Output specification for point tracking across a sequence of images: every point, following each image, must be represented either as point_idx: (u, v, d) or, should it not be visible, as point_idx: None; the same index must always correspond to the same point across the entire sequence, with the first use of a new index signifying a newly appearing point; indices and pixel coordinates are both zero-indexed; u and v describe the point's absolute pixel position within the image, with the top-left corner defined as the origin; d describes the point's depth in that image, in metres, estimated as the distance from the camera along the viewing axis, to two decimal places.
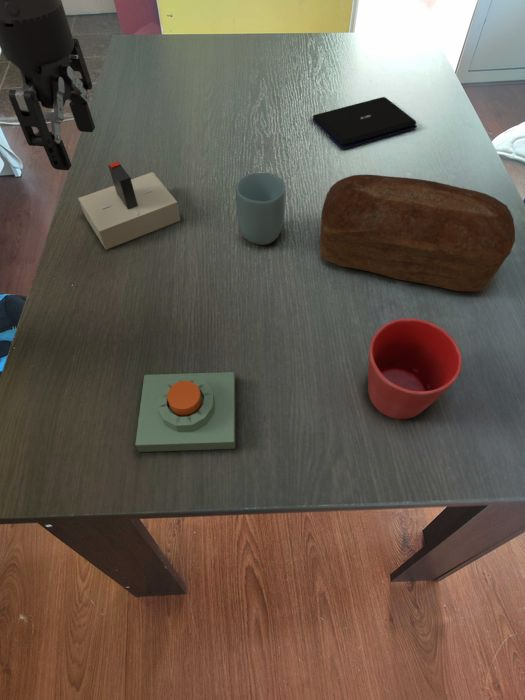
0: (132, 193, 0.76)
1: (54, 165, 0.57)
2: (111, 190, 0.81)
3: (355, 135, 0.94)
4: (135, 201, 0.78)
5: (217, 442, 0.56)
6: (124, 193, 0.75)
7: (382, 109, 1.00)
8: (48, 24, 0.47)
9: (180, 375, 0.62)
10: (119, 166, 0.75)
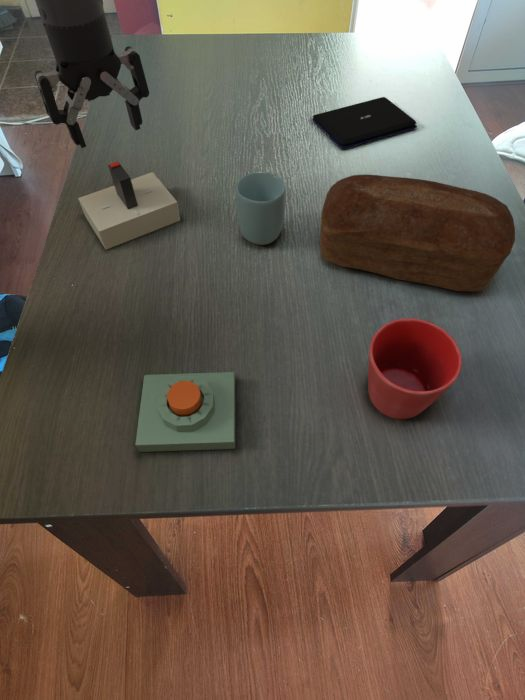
0: (132, 193, 0.76)
1: (72, 139, 0.67)
2: (111, 190, 0.81)
3: (355, 135, 0.94)
4: (135, 201, 0.78)
5: (217, 442, 0.56)
6: (124, 193, 0.75)
7: (382, 109, 1.00)
8: (67, 34, 0.55)
9: (180, 375, 0.62)
10: (119, 166, 0.75)
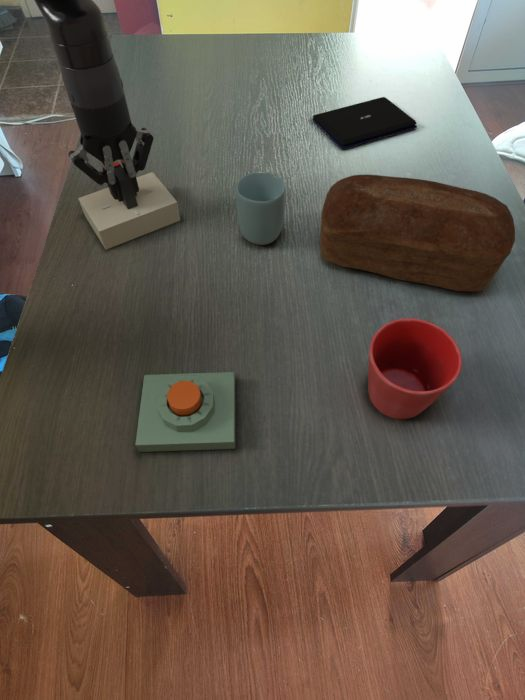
0: (132, 193, 0.76)
1: (111, 194, 0.77)
2: None
3: (355, 135, 0.94)
4: (135, 201, 0.78)
5: (217, 442, 0.56)
6: (124, 193, 0.75)
7: (382, 109, 1.00)
8: (92, 114, 0.63)
9: (180, 375, 0.62)
10: (119, 166, 0.75)
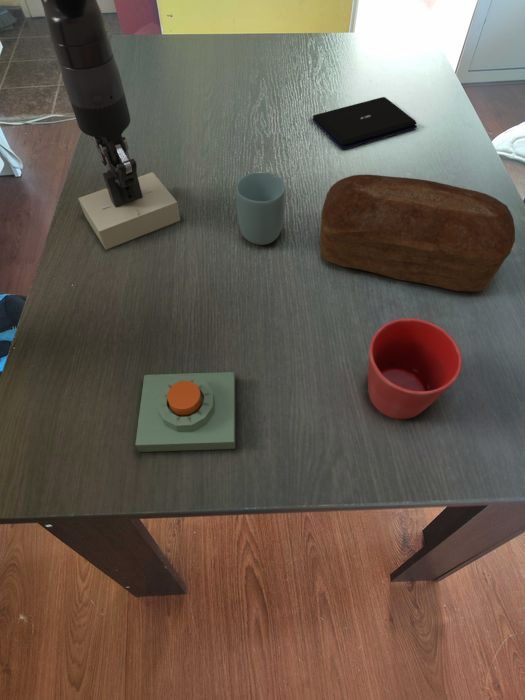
0: (110, 193, 0.76)
1: None
2: None
3: (355, 135, 0.94)
4: (113, 202, 0.77)
5: (217, 442, 0.56)
6: None
7: (382, 109, 1.00)
8: None
9: (180, 375, 0.62)
10: None
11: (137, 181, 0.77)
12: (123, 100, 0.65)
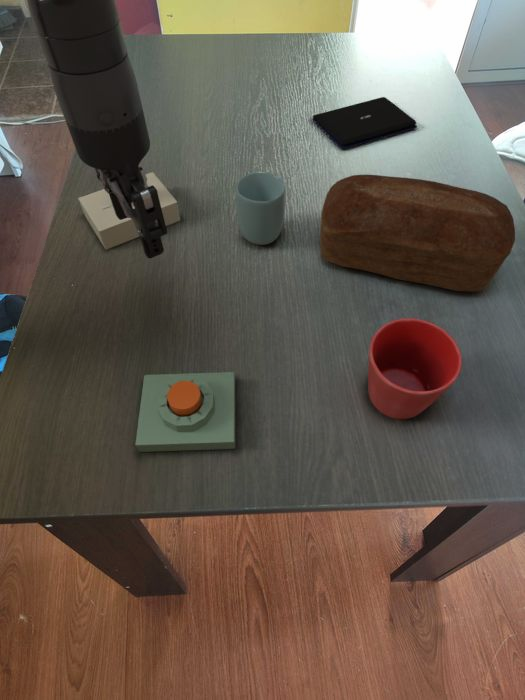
0: (110, 193, 0.76)
1: None
2: None
3: (355, 135, 0.94)
4: None
5: (217, 442, 0.56)
6: None
7: (382, 109, 1.00)
8: None
9: (180, 375, 0.62)
10: None
11: None
12: (141, 117, 0.46)
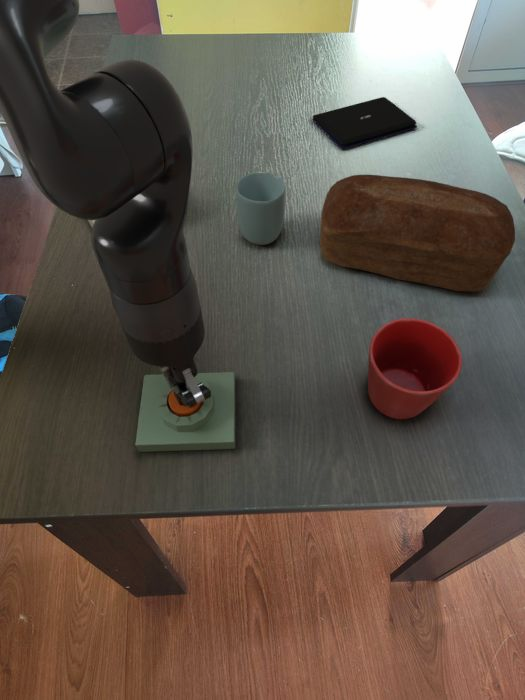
0: None
1: None
2: None
3: (355, 135, 0.94)
4: None
5: (217, 442, 0.56)
6: None
7: (382, 109, 1.00)
8: None
9: None
10: None
11: None
12: (199, 318, 0.43)
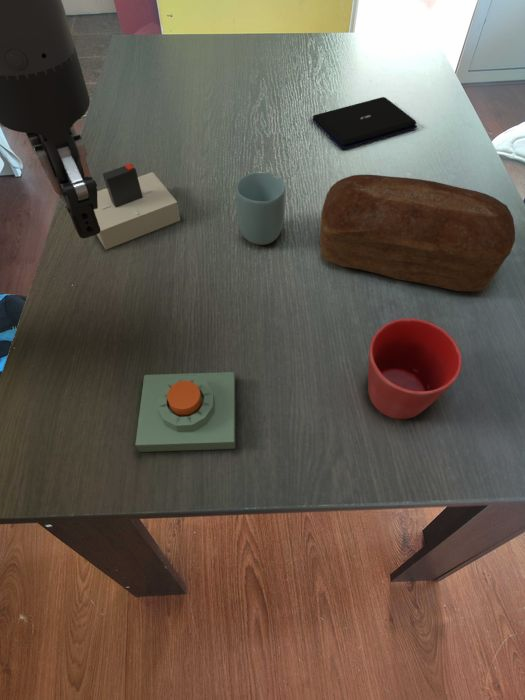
0: (110, 193, 0.76)
1: None
2: None
3: (355, 135, 0.94)
4: (113, 202, 0.77)
5: (217, 442, 0.56)
6: None
7: (382, 109, 1.00)
8: None
9: (180, 375, 0.62)
10: (126, 170, 0.75)
11: (137, 181, 0.77)
12: (72, 65, 0.34)
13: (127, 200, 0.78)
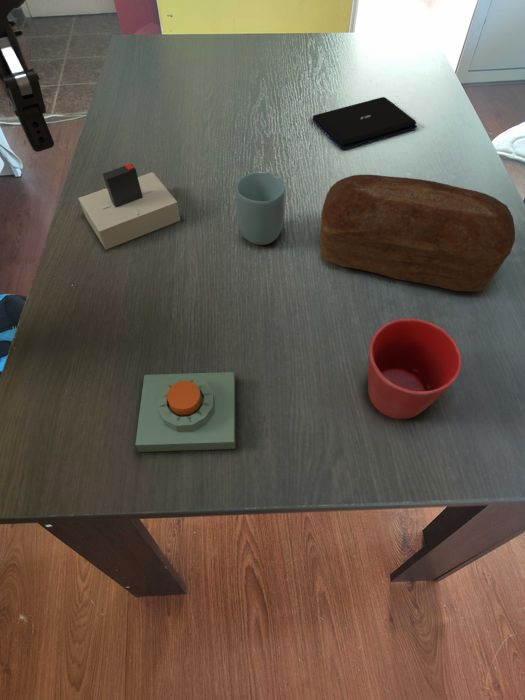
0: (110, 193, 0.76)
1: None
2: None
3: (355, 135, 0.94)
4: (113, 202, 0.77)
5: (217, 442, 0.56)
6: None
7: (382, 109, 1.00)
8: None
9: (180, 375, 0.62)
10: (126, 170, 0.75)
11: (137, 181, 0.77)
12: None
13: (127, 200, 0.78)
